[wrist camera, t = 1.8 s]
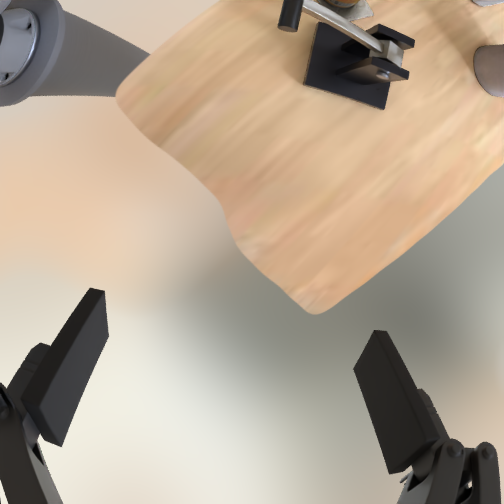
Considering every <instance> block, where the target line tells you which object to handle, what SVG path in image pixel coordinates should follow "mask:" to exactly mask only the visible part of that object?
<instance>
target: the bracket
mask: <svg viewBox="0 0 504 504" xmlns="http://www.w3.org/2000/svg"><path fill="white" fill-rule="evenodd" d="M365 32H367V33H368V34H370V35H371V36H373V37H374V38H376V39H377V40H390V41H392V42H393V43H394V44H396V45H397V46H398V47H399V48H401V49H402V50H406V49H410V48H414V43H415V40H414V39H412V38H410V37H408V36H406V35H403V34H401V33H399V32H397V31H395V30H393V29H390V28H388V27H386V26H383V25H381V24H377V25H375V26H374V27H372V28H370V29H368V30H366V31H365ZM370 50H371V49H369V48H368V47H366V46H364V45H363V44H361V43H360V42H358V41H356V40H355V39H353V38H351V37H350V36H348V35H346V34H345V33H343V32H341V31H339V30H338V29H336V28H334V27H332V26H330V25H328V24H326V23H323V22H318V23H317V25H316V30H315V34H314V39H313V43H312V48H311V52H310V57H309V61H308V66H307V70H306V75H305V79H304V84H303V85H304V86H307V87H311V88H315V89H318V90H322V91H325V92H329V93H332V94H335V95H339V96H342V97H345V98H348V99H351V100H354V101H357V102H360V103H363V104H366V105H369V106H372V107H374V108H377V109H380V110H384V109H385V105H386V100H387V96H388V91H389V87H390V82H392V81H401V80H408V77H409V71H407V70H405V69H403V68H400V67H398V66H396V65H394V64H391V63H389V62H387V61H384V60H382V59H379V58H377V57H374V56H372V57H369V55H370Z"/></svg>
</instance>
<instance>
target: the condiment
mask: <svg viewBox="0 0 504 504" xmlns="http://www.w3.org/2000/svg"><path fill="white" fill-rule="evenodd" d="M318 2H319V3H320V4H321V5H322V6H324V7H326V8H328V9H330V10H331V11H333V12H335V13H336V14H338V15H340V16H342V17H343V18H345V19H347V20H348V21H353V20H358V19H361V18H365V17H369V16H373V15H374V14H373V12H372V10H371V9H370V7H369V5H368V3H367V2H366V0H318Z"/></svg>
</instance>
